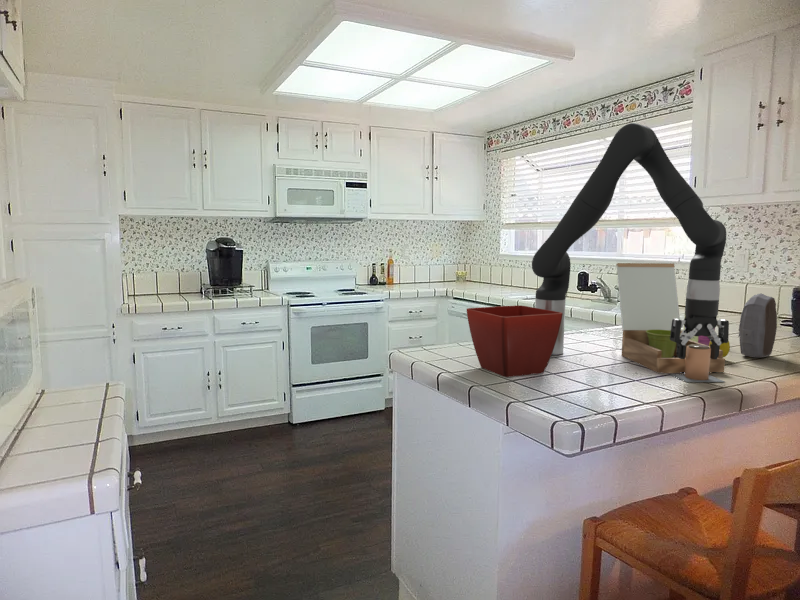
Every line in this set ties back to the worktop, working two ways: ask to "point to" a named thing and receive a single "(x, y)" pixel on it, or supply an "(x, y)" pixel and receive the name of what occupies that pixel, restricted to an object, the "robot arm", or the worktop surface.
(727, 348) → the lemon
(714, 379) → the mat
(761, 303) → the soft grey pack
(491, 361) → the plant pot
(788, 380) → the worktop surface
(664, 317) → the propped lid
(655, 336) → the plant pot
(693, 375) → the tan cylinder
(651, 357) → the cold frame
